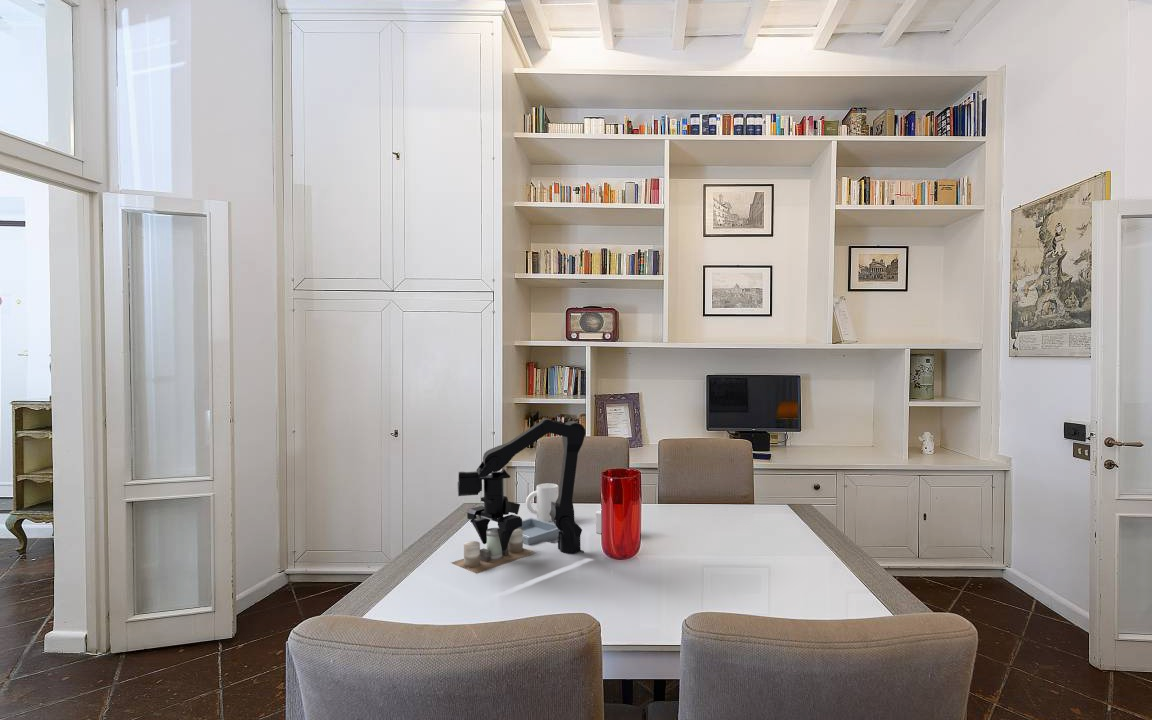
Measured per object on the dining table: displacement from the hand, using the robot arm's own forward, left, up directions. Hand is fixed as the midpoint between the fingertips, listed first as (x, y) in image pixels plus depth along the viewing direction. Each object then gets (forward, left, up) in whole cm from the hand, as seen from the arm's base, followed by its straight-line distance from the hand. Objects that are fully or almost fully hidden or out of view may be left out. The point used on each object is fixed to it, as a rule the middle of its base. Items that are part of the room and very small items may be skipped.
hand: (494, 547), depth 167 cm
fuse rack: (0, 0, -4) cm, 4 cm away
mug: (+21, -39, -4) cm, 44 cm away
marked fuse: (0, 0, -3) cm, 3 cm away
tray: (+9, -22, -4) cm, 24 cm away
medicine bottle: (-8, -43, -4) cm, 44 cm away
